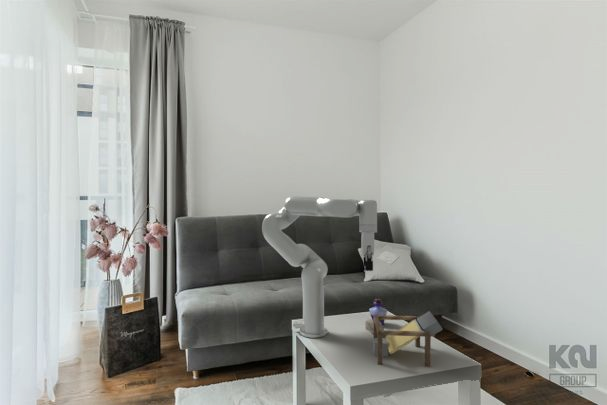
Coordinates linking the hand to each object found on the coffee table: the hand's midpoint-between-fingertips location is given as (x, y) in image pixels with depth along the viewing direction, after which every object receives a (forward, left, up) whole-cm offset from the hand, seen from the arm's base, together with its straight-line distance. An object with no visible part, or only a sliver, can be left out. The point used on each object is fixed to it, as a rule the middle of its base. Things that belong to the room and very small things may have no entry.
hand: (368, 268), depth 156 cm
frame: (+11, -15, -30) cm, 36 cm away
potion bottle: (+6, +18, -31) cm, 36 cm away
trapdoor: (+17, -15, -24) cm, 33 cm away
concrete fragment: (+4, +6, -31) cm, 32 cm away
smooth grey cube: (+6, -15, -28) cm, 32 cm away
